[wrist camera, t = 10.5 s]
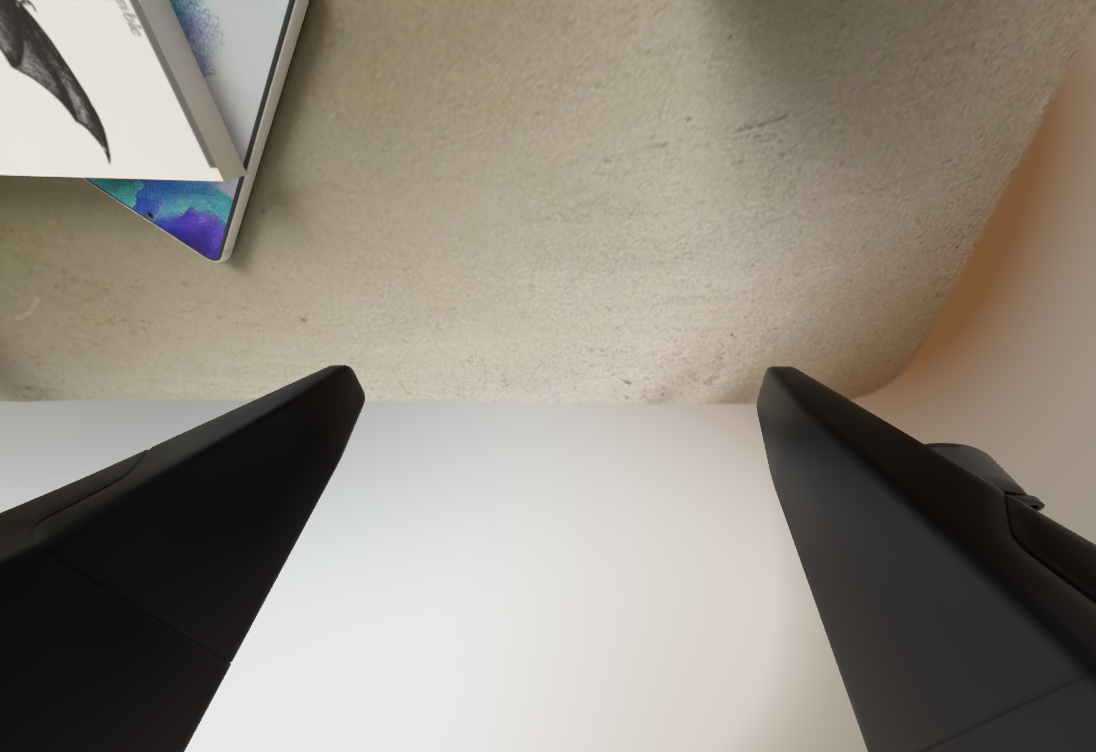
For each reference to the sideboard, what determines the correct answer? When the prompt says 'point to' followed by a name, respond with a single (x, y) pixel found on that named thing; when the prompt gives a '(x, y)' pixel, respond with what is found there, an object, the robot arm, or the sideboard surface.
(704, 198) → the sideboard surface
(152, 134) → the book
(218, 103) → the smartphone
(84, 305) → the sideboard surface
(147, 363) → the sideboard surface
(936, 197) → the sideboard surface
